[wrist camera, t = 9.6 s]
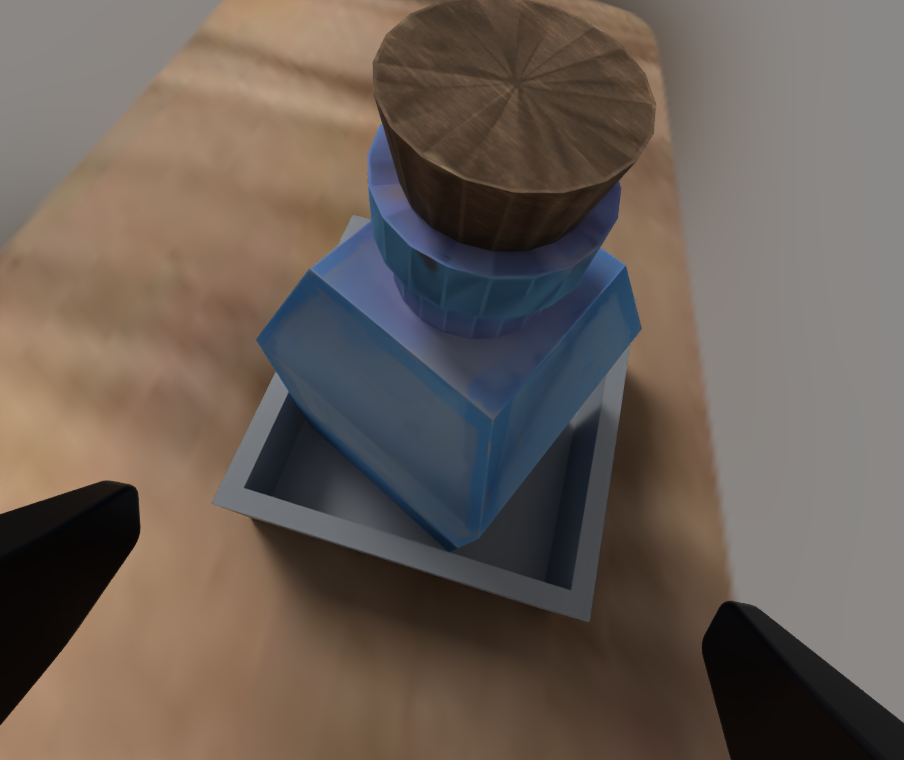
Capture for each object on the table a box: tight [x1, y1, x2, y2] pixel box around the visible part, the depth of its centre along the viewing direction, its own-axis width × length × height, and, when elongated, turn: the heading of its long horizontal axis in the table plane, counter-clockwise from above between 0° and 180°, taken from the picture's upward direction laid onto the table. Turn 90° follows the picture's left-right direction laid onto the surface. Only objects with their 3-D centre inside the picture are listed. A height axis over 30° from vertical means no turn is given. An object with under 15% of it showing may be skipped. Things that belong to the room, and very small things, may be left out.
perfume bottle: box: [256, 0, 656, 552], centre depth 11 cm, size 6×6×12 cm
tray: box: [211, 215, 637, 622], centre depth 15 cm, size 10×10×3 cm
